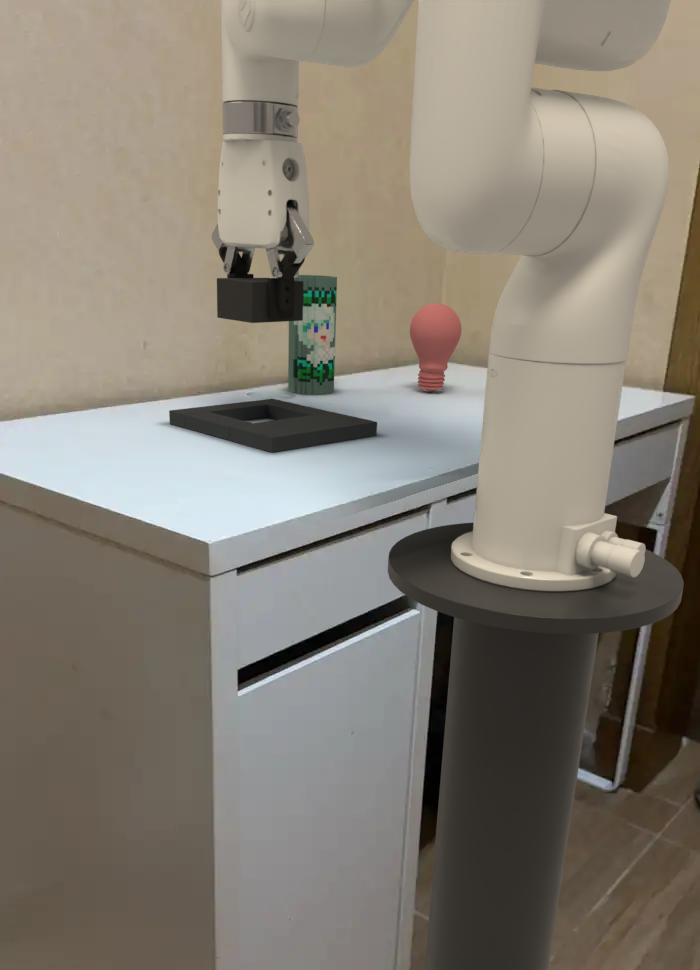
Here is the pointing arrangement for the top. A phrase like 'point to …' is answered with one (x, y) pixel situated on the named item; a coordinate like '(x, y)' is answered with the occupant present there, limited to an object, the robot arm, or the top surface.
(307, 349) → the can
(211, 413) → the base pad
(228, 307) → the black block
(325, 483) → the top surface
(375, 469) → the top surface
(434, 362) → the light bulb
